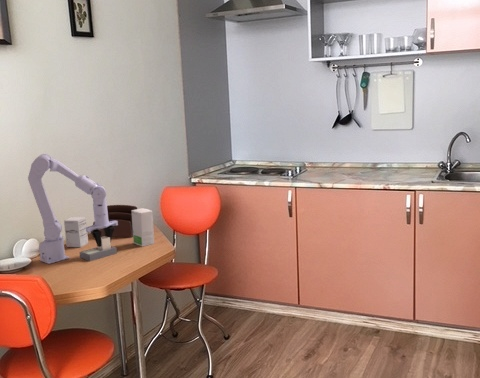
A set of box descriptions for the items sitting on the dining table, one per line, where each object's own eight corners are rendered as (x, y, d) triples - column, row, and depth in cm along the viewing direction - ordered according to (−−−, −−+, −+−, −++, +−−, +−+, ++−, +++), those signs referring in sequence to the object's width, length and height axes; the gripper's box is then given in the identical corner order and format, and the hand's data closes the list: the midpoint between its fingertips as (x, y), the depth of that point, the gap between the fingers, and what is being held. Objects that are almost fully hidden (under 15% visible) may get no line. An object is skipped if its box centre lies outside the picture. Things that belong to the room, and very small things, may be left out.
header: (90, 261, 222) (89, 254, 221) (80, 257, 227) (79, 251, 227) (117, 253, 231) (116, 247, 231) (106, 250, 236) (105, 244, 236)
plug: (103, 255, 228) (101, 239, 227) (98, 254, 231) (96, 238, 230) (111, 253, 231) (109, 237, 230) (106, 251, 234) (104, 236, 233)
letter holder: (103, 232, 270) (100, 204, 267) (140, 232, 265) (137, 204, 263) (93, 237, 260) (90, 209, 258) (132, 237, 256) (129, 208, 253)
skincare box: (133, 243, 245) (130, 210, 242) (145, 240, 249) (142, 207, 246) (143, 247, 238) (140, 212, 236) (155, 243, 243) (152, 209, 240)
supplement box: (66, 247, 245) (63, 220, 242) (74, 242, 252) (71, 216, 249) (80, 247, 243) (77, 220, 241) (89, 243, 250) (86, 216, 248)
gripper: (90, 218, 220) (94, 250, 223) (120, 211, 231) (123, 242, 233) (81, 216, 225) (85, 247, 227) (111, 209, 235) (114, 239, 238)
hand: (104, 245), depth 231 cm, fingers closed on plug, 4 cm apart
